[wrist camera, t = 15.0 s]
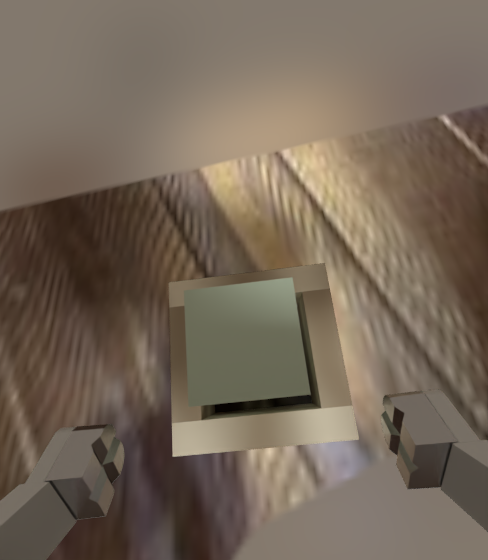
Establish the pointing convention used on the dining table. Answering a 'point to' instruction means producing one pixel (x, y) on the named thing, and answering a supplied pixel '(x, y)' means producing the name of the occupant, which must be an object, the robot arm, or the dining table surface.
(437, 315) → the dining table surface
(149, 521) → the dining table surface
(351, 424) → the beige square socket frame
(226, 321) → the sage-green peg
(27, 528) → the robot arm
